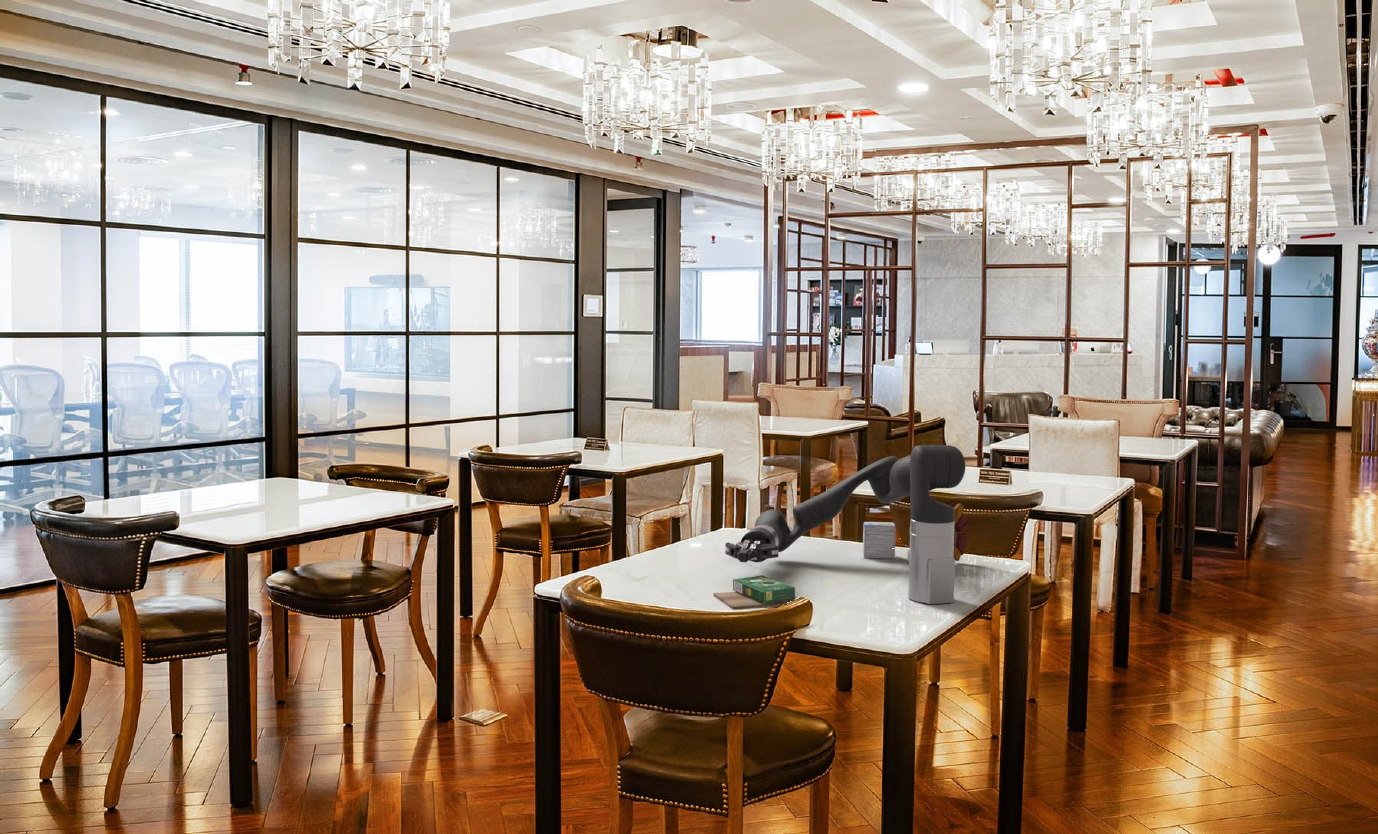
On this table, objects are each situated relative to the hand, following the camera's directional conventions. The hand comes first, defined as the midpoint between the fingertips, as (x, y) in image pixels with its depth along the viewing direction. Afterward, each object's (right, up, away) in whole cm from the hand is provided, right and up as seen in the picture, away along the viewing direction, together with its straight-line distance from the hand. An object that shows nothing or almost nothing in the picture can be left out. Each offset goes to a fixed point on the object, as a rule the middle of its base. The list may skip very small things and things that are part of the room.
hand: (742, 557), depth 238 cm
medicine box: (+37, -5, +39) cm, 54 cm away
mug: (+50, -6, +30) cm, 59 cm away
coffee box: (+1, -6, +1) cm, 6 cm away
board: (+3, -8, -6) cm, 11 cm away
